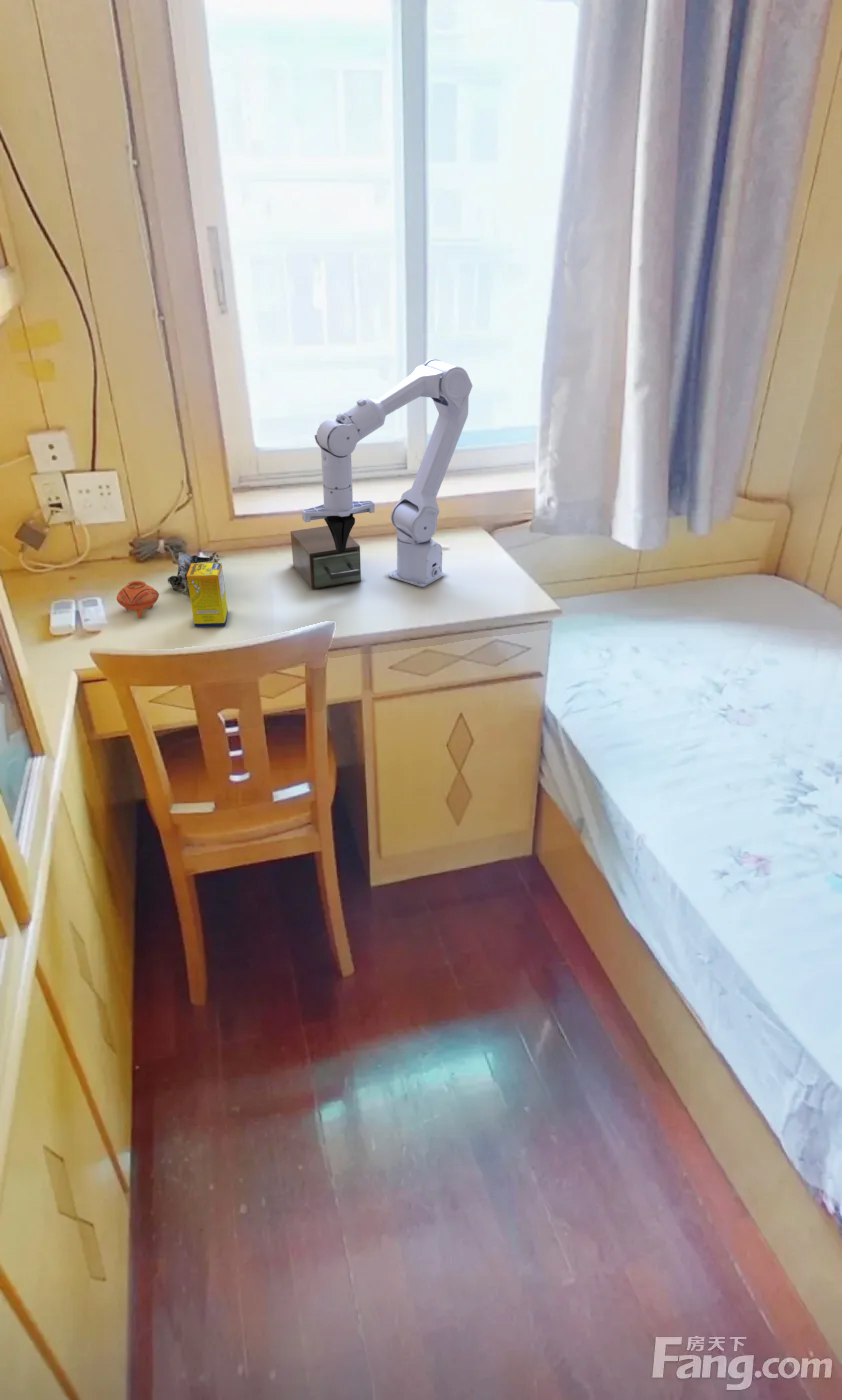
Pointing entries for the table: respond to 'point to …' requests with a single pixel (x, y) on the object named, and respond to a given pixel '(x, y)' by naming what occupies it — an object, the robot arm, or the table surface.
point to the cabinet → (315, 550)
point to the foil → (183, 568)
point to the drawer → (336, 568)
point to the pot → (137, 597)
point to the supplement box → (207, 594)
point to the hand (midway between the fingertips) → (340, 550)
